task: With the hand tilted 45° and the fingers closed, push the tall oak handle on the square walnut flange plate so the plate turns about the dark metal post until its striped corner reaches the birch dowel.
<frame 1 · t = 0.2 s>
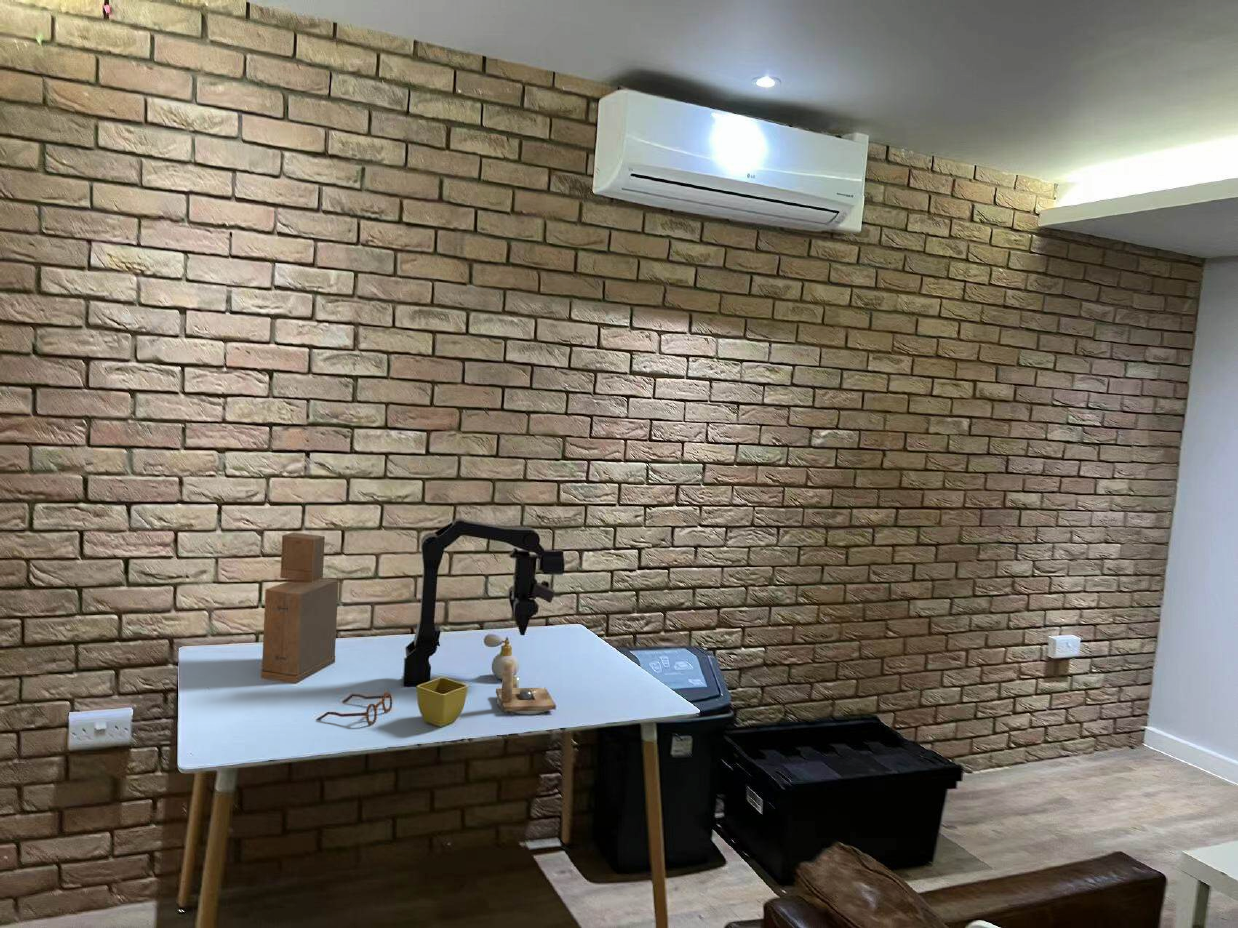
hand: (520, 630, 241), 14 cm above the table, tool pointing down, fingers open, 9 cm apart
stacked wooden blocks: (298, 669, 239), on the table
perfume bottle: (500, 679, 244), on the table
flange plate: (524, 705, 225), resting on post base, hinge at 0.0°
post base: (524, 705, 225), on the table
glasses: (355, 716, 211), on the table
flower pot: (440, 723, 210), on the table
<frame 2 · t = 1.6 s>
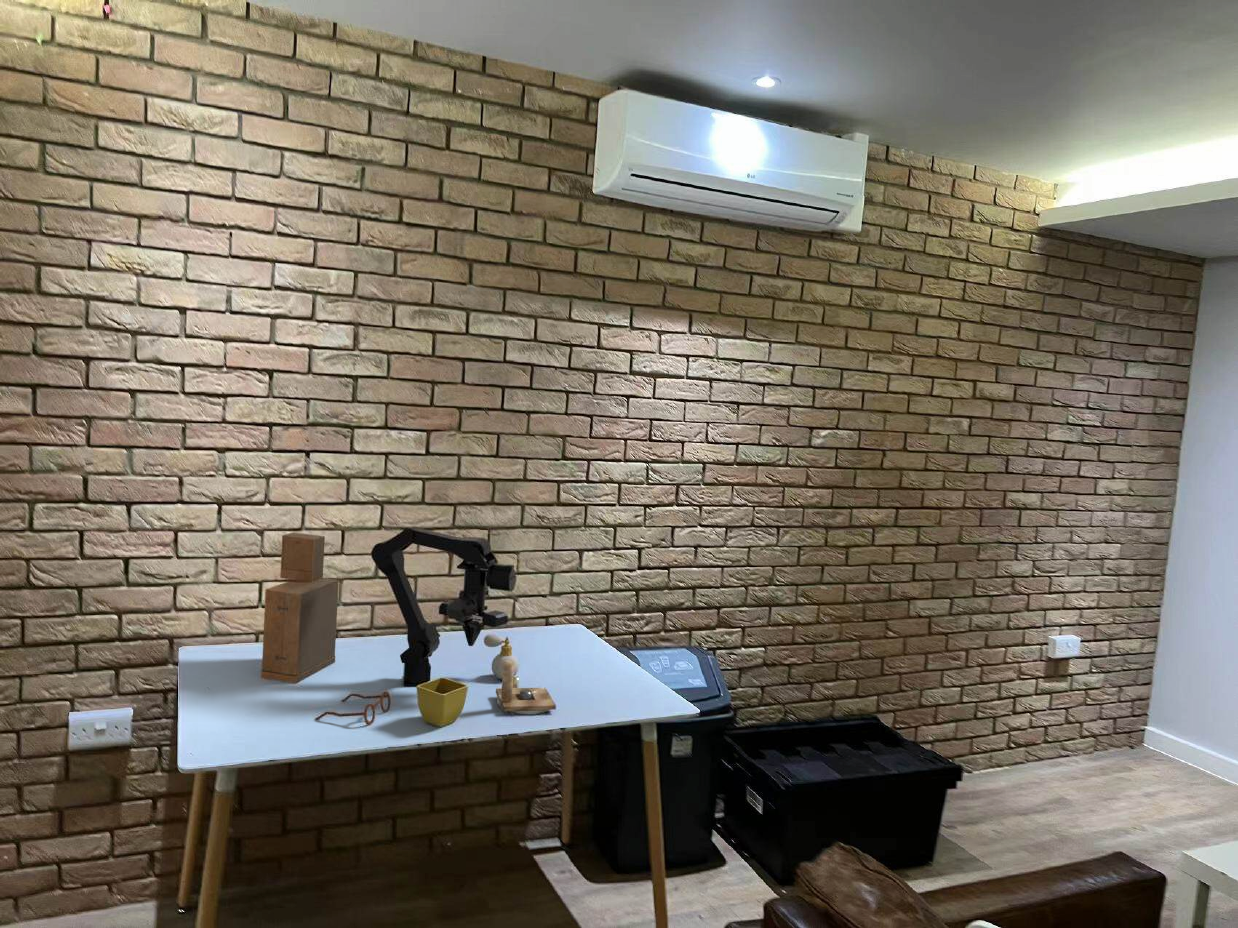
hand: (470, 645, 231), 12 cm above the table, tool pointing down, fingers closed
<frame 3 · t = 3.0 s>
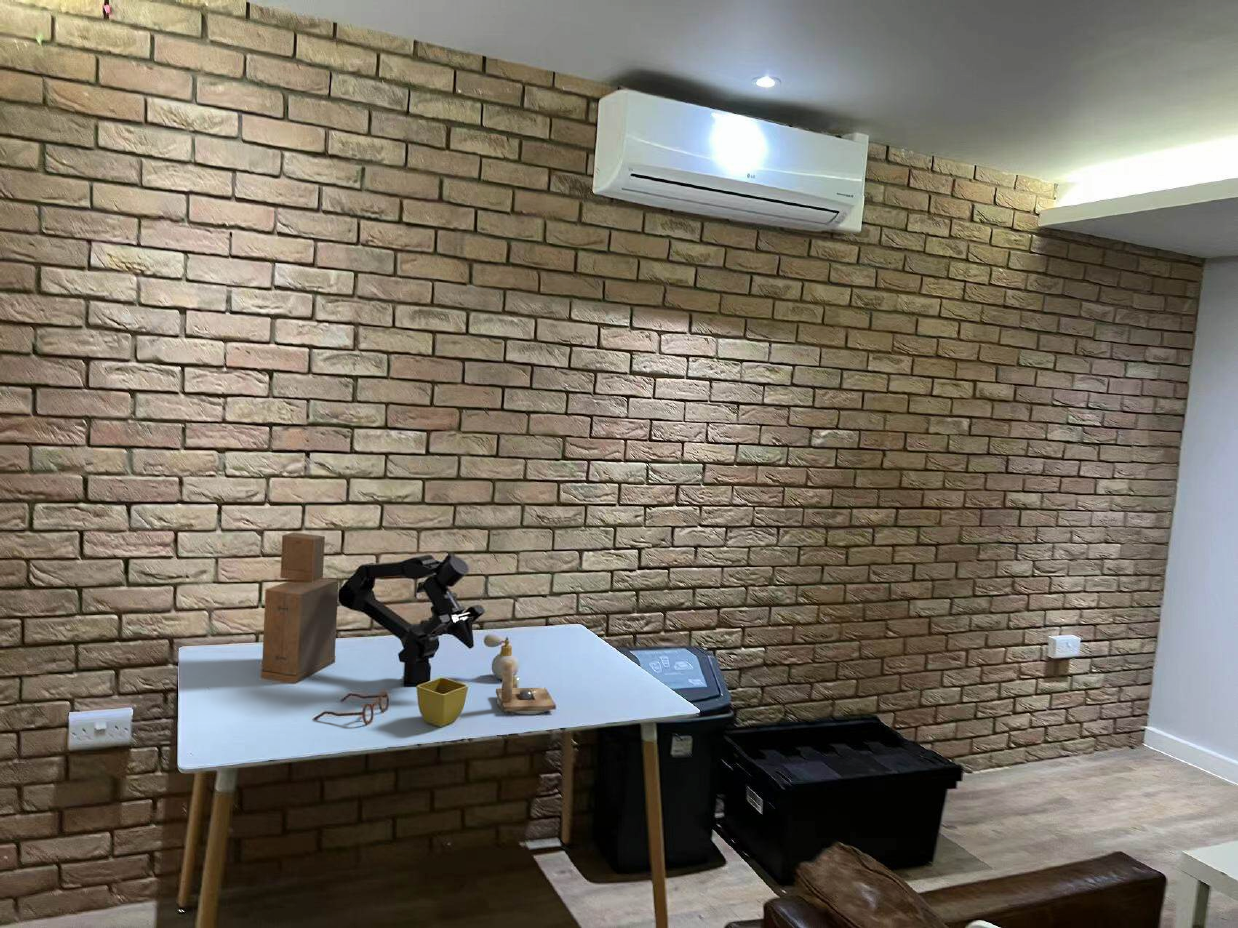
hand: (471, 647, 226), 13 cm above the table, tool tilted 45°, fingers closed
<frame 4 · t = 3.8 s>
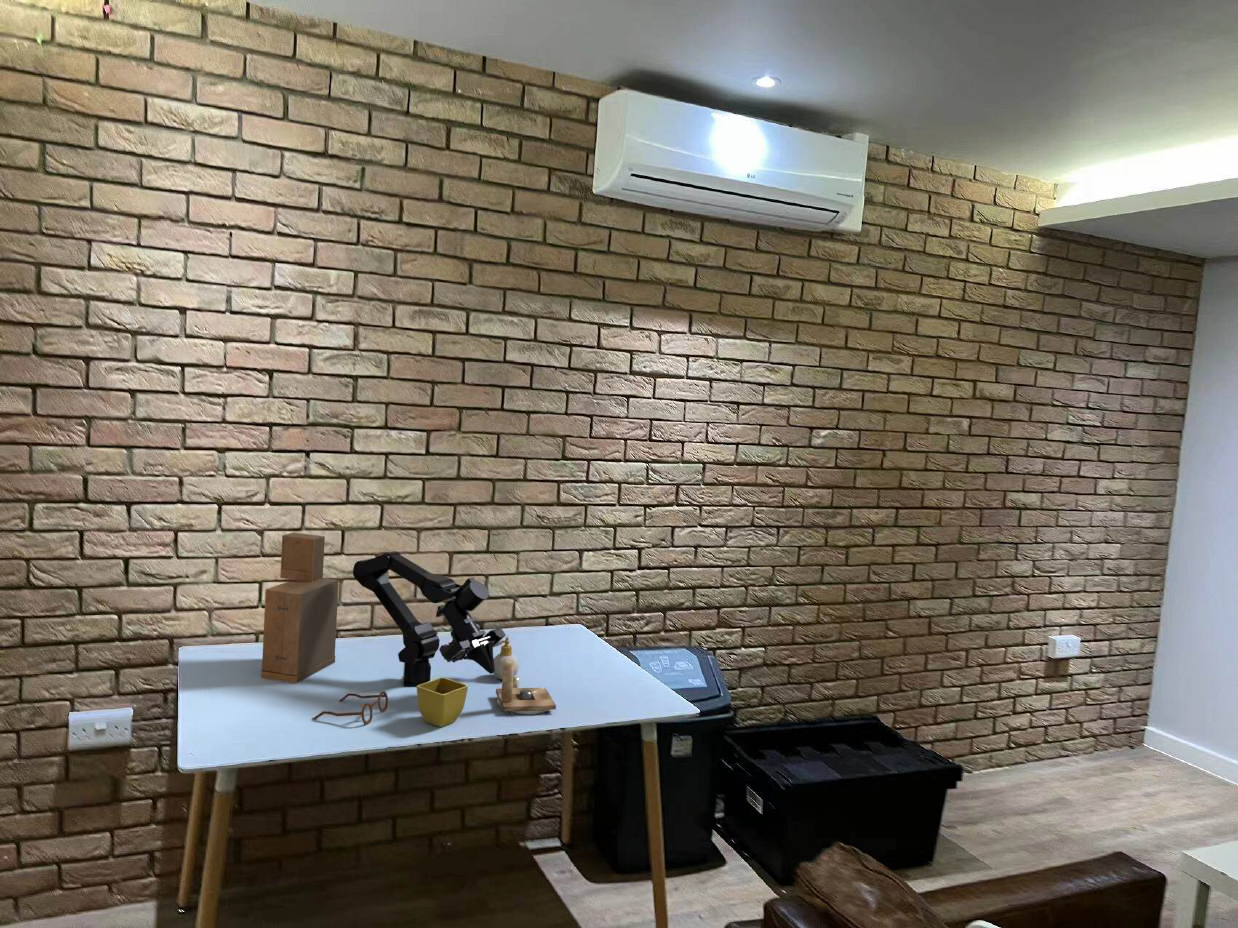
hand: (492, 672, 223), 8 cm above the table, tool tilted 45°, fingers closed
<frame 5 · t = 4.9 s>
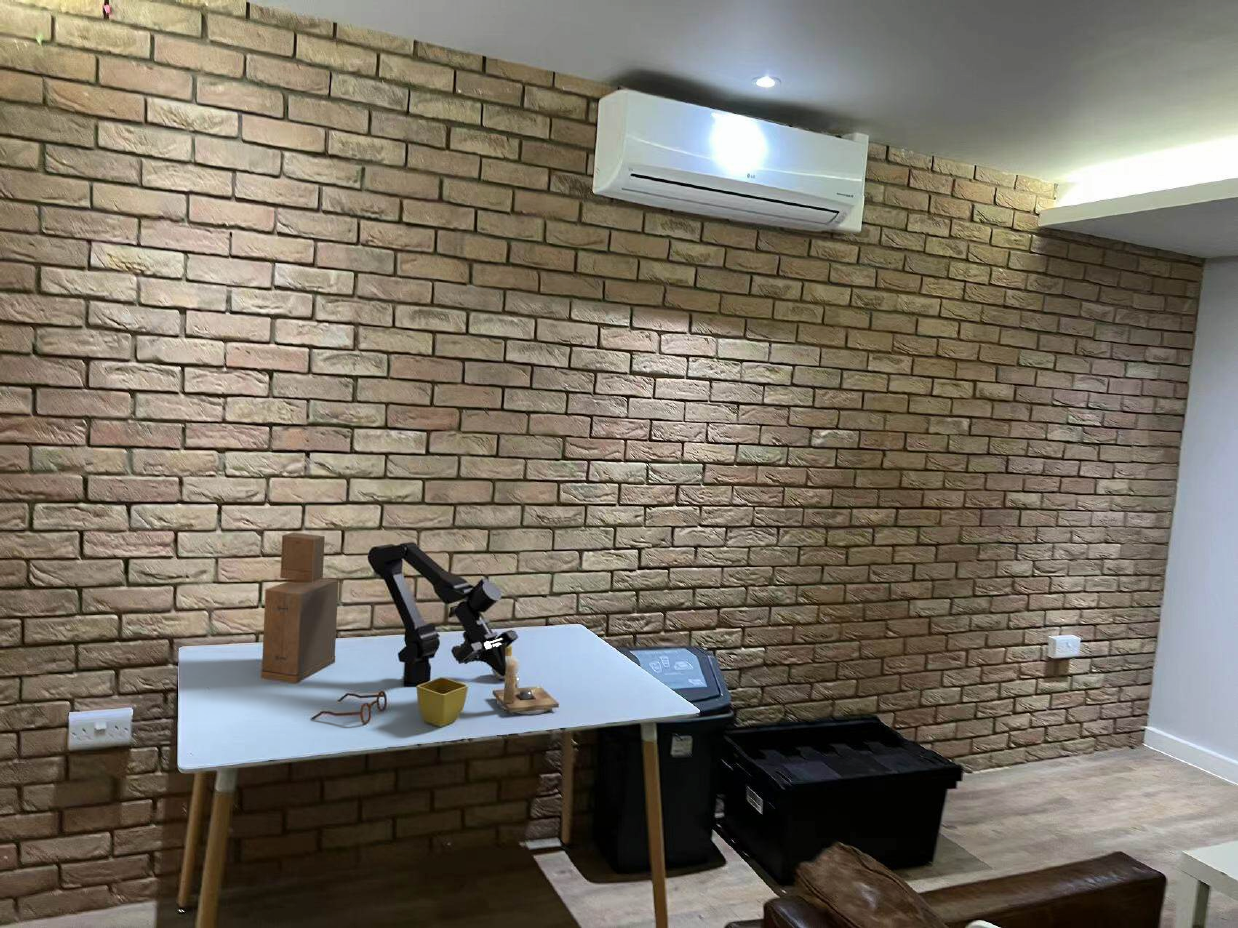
hand: (504, 675, 220), 9 cm above the table, tool tilted 45°, fingers closed, pressing on flange plate
flange plate: (524, 705, 225), resting on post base, hinge at 9.9°, touching gripper
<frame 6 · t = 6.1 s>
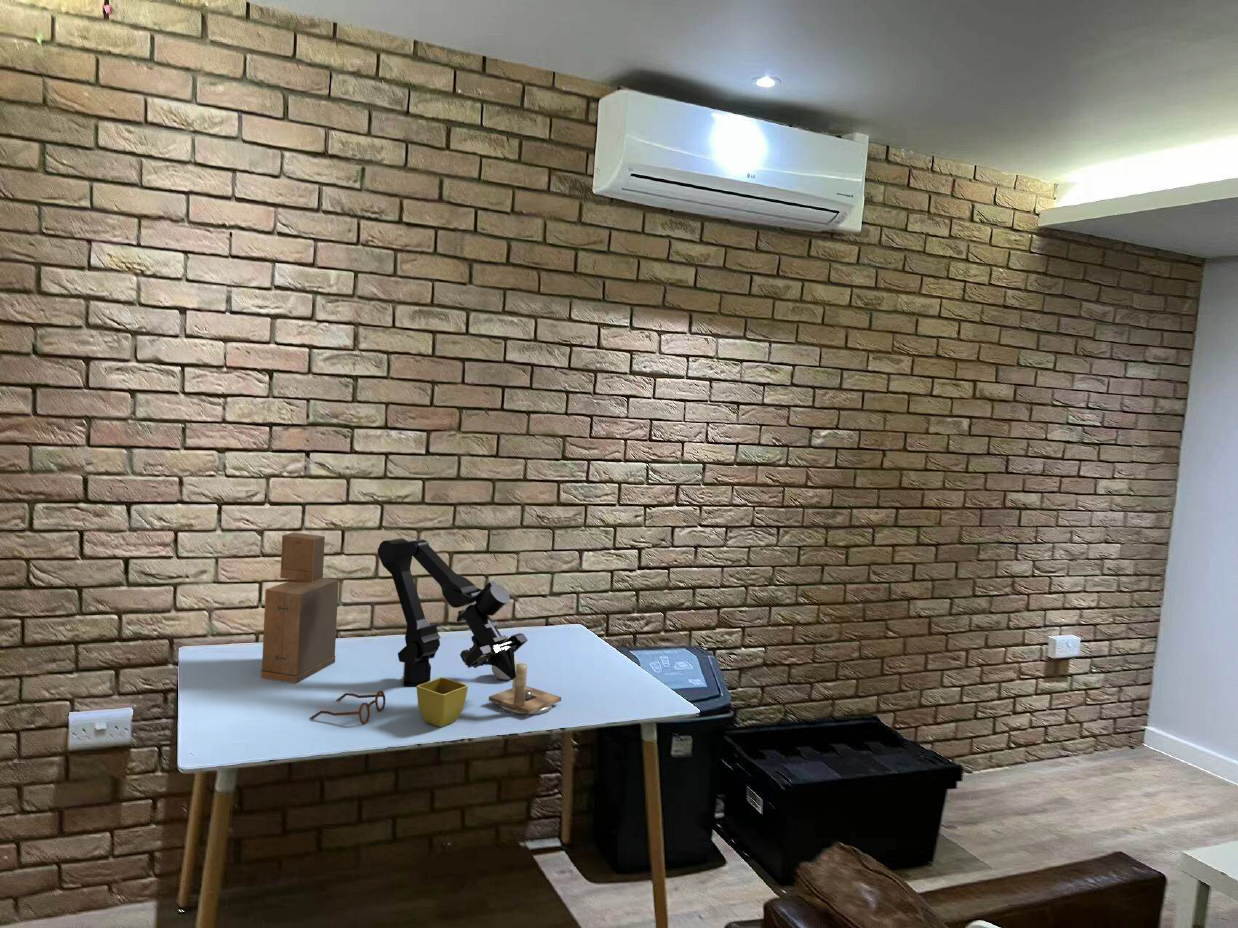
hand: (514, 678, 218), 9 cm above the table, tool tilted 45°, fingers closed
flange plate: (524, 705, 225), resting on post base, hinge at 39.9°, touching gripper
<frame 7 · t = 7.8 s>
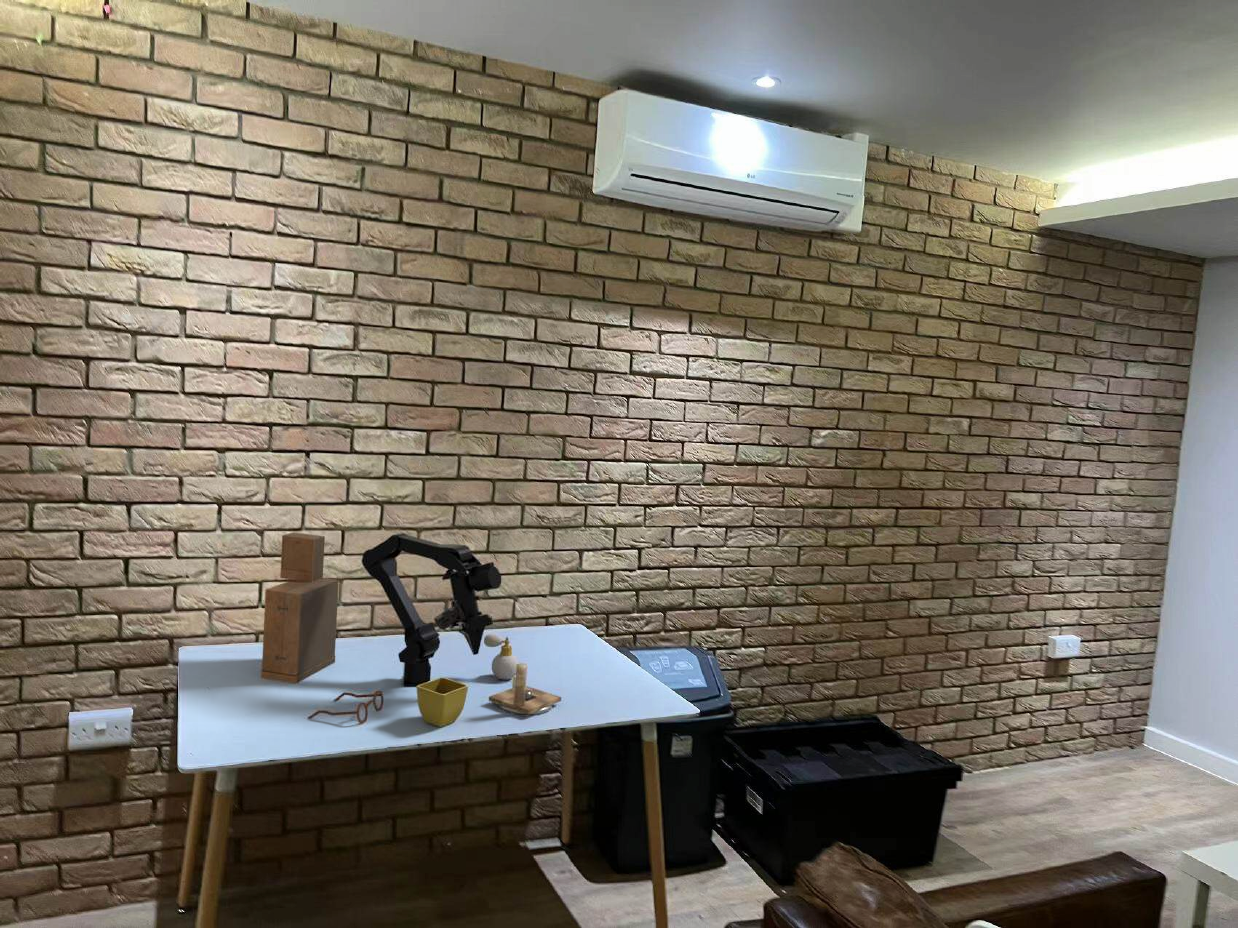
hand: (475, 654, 227), 11 cm above the table, tool tilted 15°, fingers closed
flange plate: (524, 705, 225), resting on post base, hinge at 39.9°
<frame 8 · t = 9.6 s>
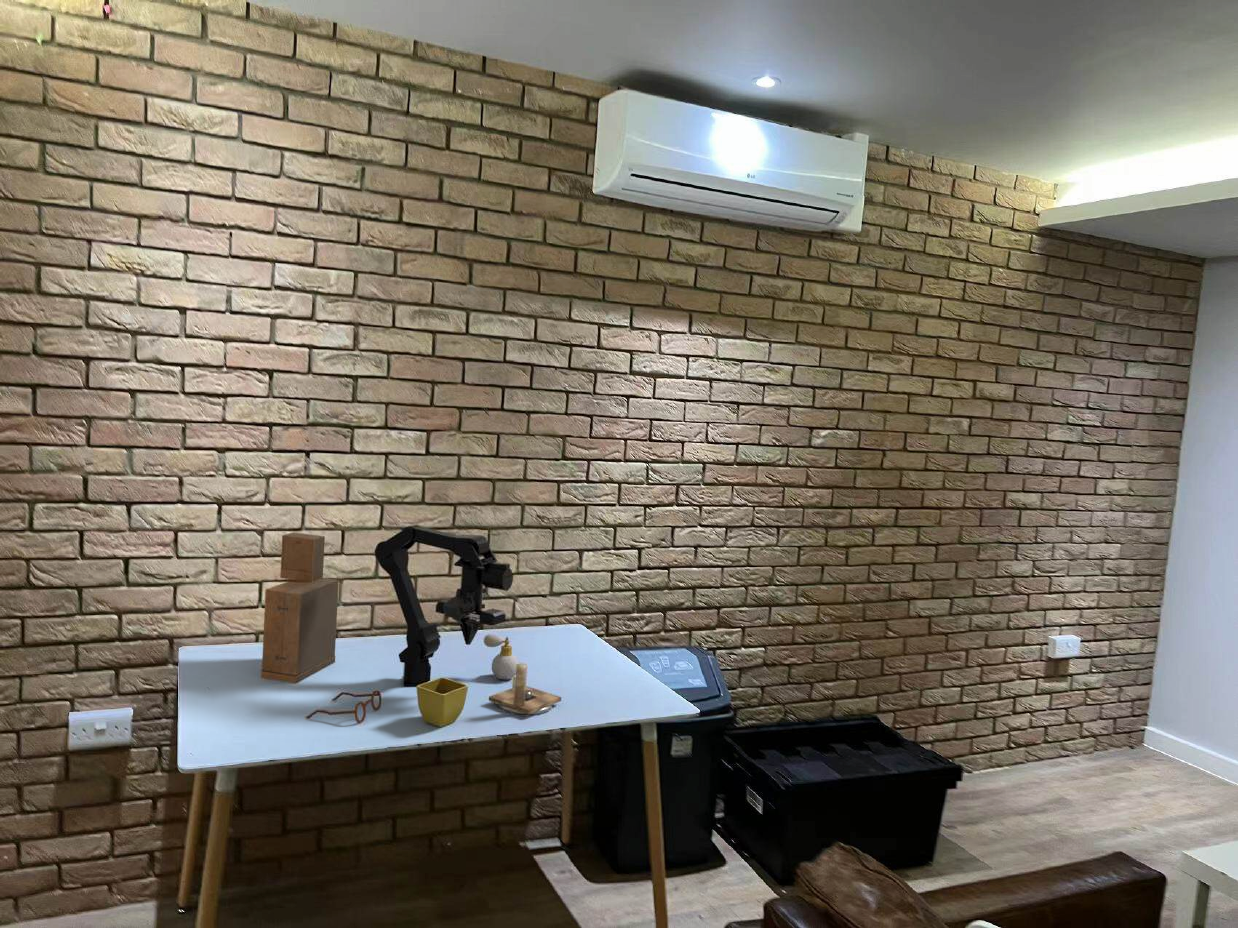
hand: (468, 644, 229), 13 cm above the table, tool pointing down, fingers closed
at the end: flange plate at +40° (first picture: +0°) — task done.
